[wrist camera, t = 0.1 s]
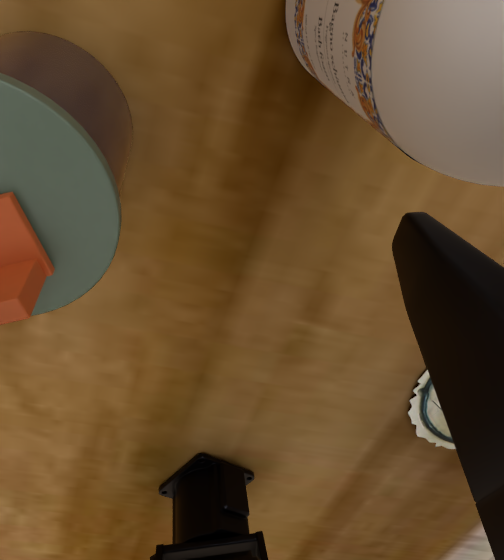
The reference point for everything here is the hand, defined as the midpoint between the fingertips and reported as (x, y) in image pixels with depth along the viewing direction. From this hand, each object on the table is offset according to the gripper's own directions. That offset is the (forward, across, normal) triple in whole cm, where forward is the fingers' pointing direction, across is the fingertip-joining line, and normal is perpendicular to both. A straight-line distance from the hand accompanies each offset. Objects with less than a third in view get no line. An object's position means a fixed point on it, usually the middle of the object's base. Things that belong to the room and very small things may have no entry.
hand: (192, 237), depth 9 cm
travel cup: (+14, +7, +6) cm, 17 cm away
